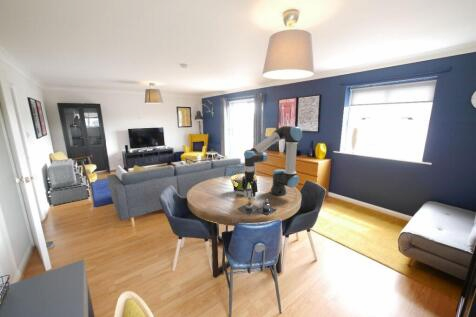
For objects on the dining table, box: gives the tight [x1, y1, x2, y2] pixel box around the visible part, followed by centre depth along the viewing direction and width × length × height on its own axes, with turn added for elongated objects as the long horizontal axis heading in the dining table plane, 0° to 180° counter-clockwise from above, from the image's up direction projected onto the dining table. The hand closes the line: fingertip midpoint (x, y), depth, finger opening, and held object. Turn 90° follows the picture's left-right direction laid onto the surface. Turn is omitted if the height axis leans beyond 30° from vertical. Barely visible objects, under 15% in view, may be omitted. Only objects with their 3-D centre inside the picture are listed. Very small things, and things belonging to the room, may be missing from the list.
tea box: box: [232, 176, 250, 196], centre depth 194 cm, size 15×10×15 cm, turn 66°
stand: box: [256, 198, 278, 216], centre depth 158 cm, size 12×12×10 cm
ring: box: [243, 188, 253, 199], centre depth 158 cm, size 8×8×5 cm
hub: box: [237, 197, 260, 216], centre depth 160 cm, size 14×14×10 cm
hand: (249, 198), depth 159 cm, fingers closed on ring, 8 cm apart
